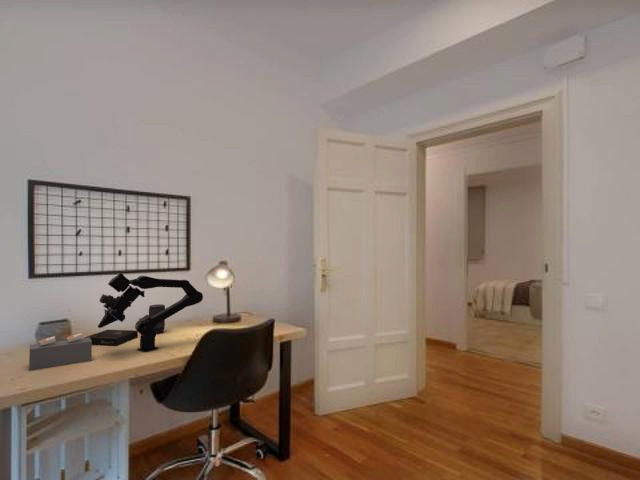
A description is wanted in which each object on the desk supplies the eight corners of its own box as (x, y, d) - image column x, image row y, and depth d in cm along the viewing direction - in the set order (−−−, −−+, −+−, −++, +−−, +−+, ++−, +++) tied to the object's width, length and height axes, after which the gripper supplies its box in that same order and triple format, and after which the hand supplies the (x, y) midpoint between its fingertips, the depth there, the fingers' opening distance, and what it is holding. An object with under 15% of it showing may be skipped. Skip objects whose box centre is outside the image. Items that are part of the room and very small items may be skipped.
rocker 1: (55, 338, 146) (54, 335, 146) (55, 340, 143) (55, 337, 142) (40, 343, 143) (39, 340, 143) (40, 345, 140) (39, 342, 139)
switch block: (89, 356, 155) (89, 337, 155) (91, 360, 148) (91, 341, 148) (29, 365, 142) (29, 344, 142) (29, 370, 136) (29, 349, 136)
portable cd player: (138, 338, 187) (138, 330, 187) (116, 347, 170) (116, 338, 170) (108, 336, 189) (108, 329, 189) (83, 345, 172) (84, 337, 172)
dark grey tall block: (146, 332, 196) (146, 305, 197) (161, 330, 202) (161, 303, 202) (151, 335, 191) (152, 307, 191) (167, 333, 196) (167, 305, 197)
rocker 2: (82, 335, 151) (81, 332, 151) (83, 337, 148) (82, 334, 148) (67, 340, 148) (67, 337, 148) (68, 342, 145) (67, 339, 145)
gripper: (108, 284, 164) (80, 312, 157) (116, 290, 149) (85, 321, 143) (127, 299, 169) (101, 326, 163) (137, 306, 155) (108, 337, 148)
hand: (98, 327), depth 154 cm, fingers closed
